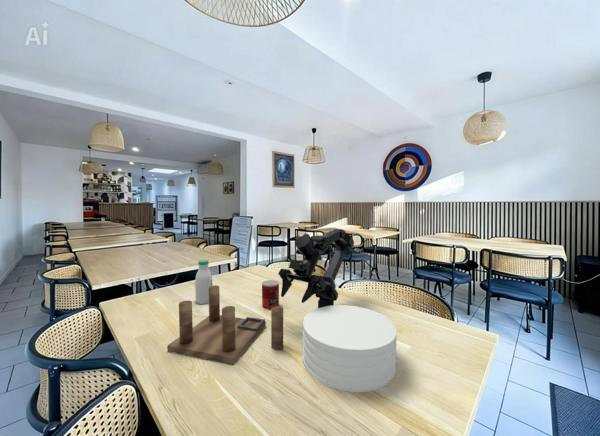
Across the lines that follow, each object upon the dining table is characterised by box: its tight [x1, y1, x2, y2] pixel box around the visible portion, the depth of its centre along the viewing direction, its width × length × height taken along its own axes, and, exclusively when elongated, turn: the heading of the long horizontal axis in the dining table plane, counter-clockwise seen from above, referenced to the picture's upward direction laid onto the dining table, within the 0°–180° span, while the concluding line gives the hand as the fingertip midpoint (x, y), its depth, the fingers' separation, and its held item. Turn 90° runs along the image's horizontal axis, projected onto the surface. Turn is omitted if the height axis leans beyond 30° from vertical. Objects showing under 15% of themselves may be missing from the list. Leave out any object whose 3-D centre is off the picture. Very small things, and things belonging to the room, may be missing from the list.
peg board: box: [167, 285, 267, 365], centre depth 91 cm, size 24×24×15 cm
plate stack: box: [302, 304, 398, 393], centre depth 80 cm, size 28×28×12 cm
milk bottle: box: [194, 259, 213, 305], centre depth 124 cm, size 8×8×20 cm
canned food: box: [261, 279, 280, 310], centre depth 119 cm, size 8×8×11 cm
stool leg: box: [270, 305, 284, 351], centre depth 86 cm, size 4×4×13 cm
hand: (291, 299), depth 92 cm, fingers open, 9 cm apart
